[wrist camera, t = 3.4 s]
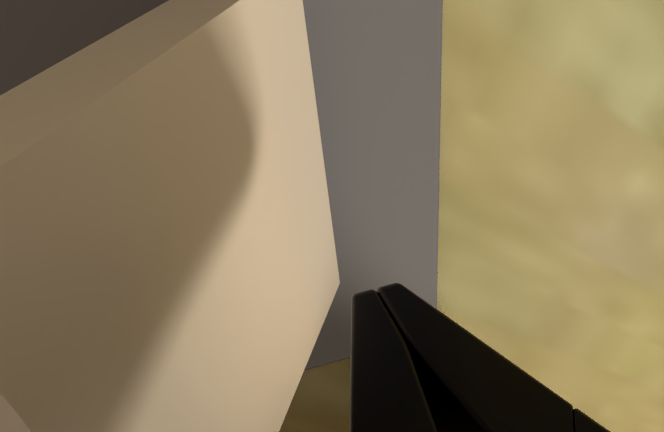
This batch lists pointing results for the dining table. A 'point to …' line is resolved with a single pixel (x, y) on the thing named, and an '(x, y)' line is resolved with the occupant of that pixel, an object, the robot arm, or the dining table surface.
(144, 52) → the tile
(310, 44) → the mat
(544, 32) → the dining table surface
